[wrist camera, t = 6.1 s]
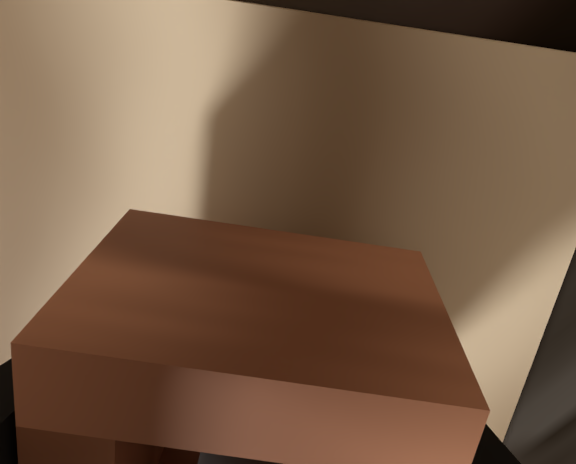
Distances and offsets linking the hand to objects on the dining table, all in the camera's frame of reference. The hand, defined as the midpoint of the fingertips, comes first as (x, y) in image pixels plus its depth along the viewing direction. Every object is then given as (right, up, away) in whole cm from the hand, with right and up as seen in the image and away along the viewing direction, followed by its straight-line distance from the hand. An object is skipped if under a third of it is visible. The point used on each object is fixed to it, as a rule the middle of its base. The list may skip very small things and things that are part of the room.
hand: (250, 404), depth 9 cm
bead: (0, +1, +1) cm, 1 cm away
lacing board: (0, +2, +4) cm, 5 cm away
